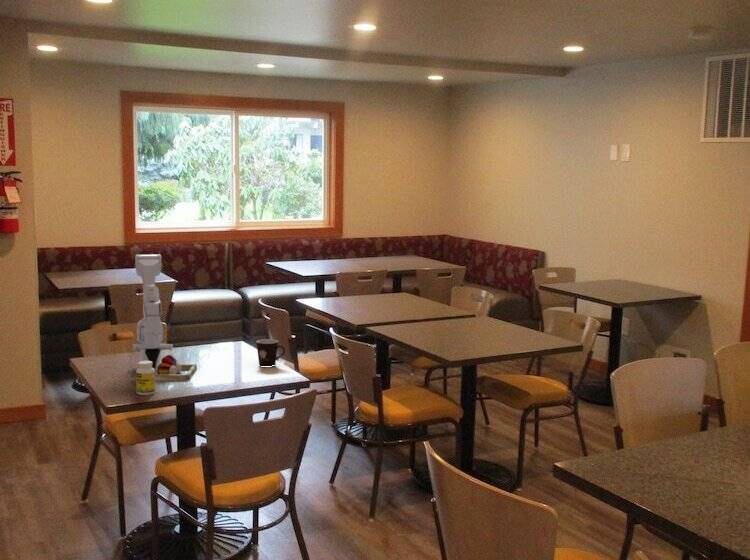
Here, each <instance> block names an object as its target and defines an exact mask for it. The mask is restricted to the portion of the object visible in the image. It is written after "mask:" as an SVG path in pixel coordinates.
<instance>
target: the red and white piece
mask: <svg viewBox="0 0 750 560" xmlns="http://www.w3.org/2000/svg"><path fill="white" fill-rule="evenodd" d="M177 361H178V360H177V359H176V357H174V355H171V354H167V355H165V356H164V357H161V362H162V363H160V364H158V365H157V366H156V367H155V369H154V370H155V374H179V373H181V372H182V371H183V370H182V366H181V364H182V363H180V362H177Z"/></svg>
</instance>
